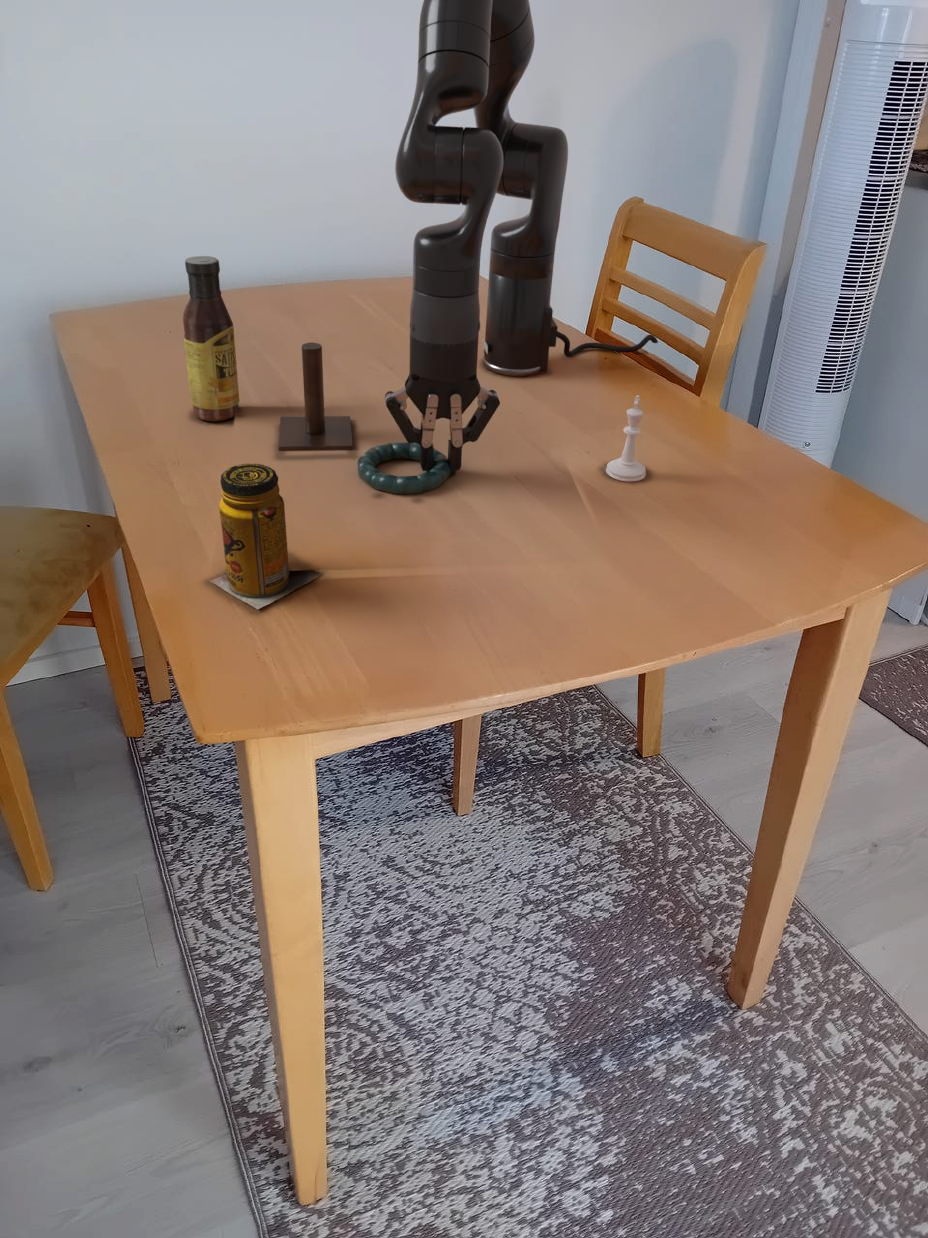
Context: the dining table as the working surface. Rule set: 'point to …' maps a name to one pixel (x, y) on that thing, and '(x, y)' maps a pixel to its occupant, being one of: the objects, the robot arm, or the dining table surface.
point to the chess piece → (629, 450)
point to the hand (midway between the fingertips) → (440, 471)
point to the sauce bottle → (209, 344)
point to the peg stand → (314, 413)
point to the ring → (401, 482)
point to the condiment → (256, 537)
